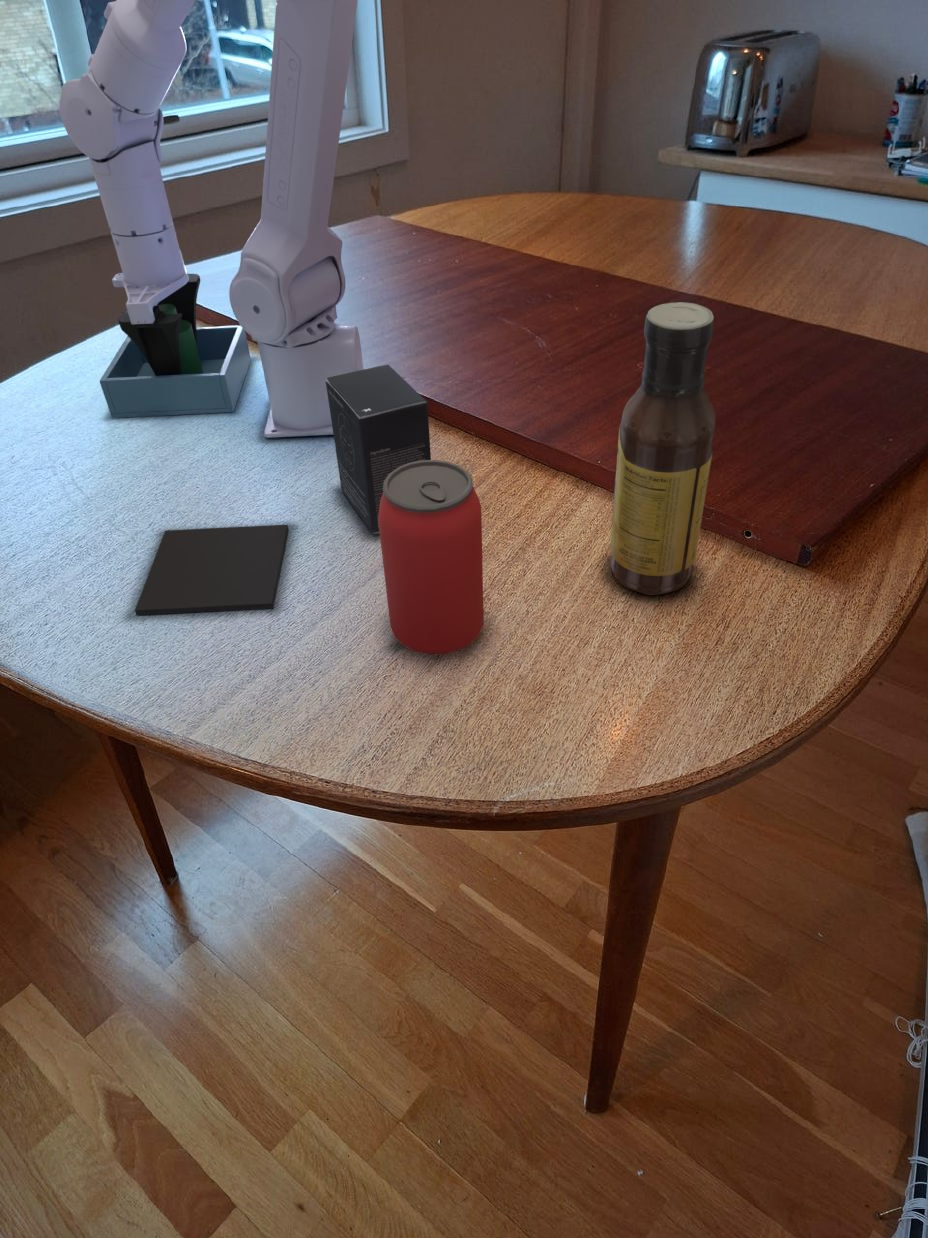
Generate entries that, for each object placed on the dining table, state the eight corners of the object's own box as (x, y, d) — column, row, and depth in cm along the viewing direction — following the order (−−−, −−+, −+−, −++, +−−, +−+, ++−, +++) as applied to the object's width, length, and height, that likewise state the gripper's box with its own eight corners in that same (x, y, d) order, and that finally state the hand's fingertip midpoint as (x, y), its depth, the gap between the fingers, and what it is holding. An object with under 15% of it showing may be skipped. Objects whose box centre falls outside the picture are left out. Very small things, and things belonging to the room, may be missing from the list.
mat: (288, 529, 69) (287, 524, 69) (273, 608, 62) (272, 603, 62) (166, 535, 69) (164, 530, 69) (136, 615, 62) (134, 610, 61)
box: (436, 517, 70) (428, 400, 63) (372, 537, 68) (357, 418, 61) (399, 473, 75) (389, 360, 68) (339, 490, 74) (322, 376, 67)
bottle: (208, 372, 91) (190, 298, 86) (200, 391, 88) (181, 315, 82) (167, 374, 91) (146, 300, 85) (158, 393, 87) (135, 317, 82)
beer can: (415, 672, 57) (401, 524, 49) (376, 615, 61) (357, 472, 53) (501, 639, 59) (500, 493, 51) (457, 587, 63) (451, 444, 55)
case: (251, 359, 94) (243, 324, 91) (233, 412, 85) (224, 374, 82) (141, 365, 94) (130, 330, 91) (111, 418, 85) (99, 380, 82)
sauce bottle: (653, 538, 67) (690, 284, 54) (709, 579, 63) (763, 315, 50) (588, 565, 65) (610, 306, 51) (642, 610, 61) (680, 342, 47)
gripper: (119, 205, 84) (156, 337, 93) (75, 254, 73) (122, 399, 82) (190, 202, 84) (220, 334, 93) (157, 251, 73) (194, 395, 82)
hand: (178, 364), depth 88 cm, fingers open, 7 cm apart
